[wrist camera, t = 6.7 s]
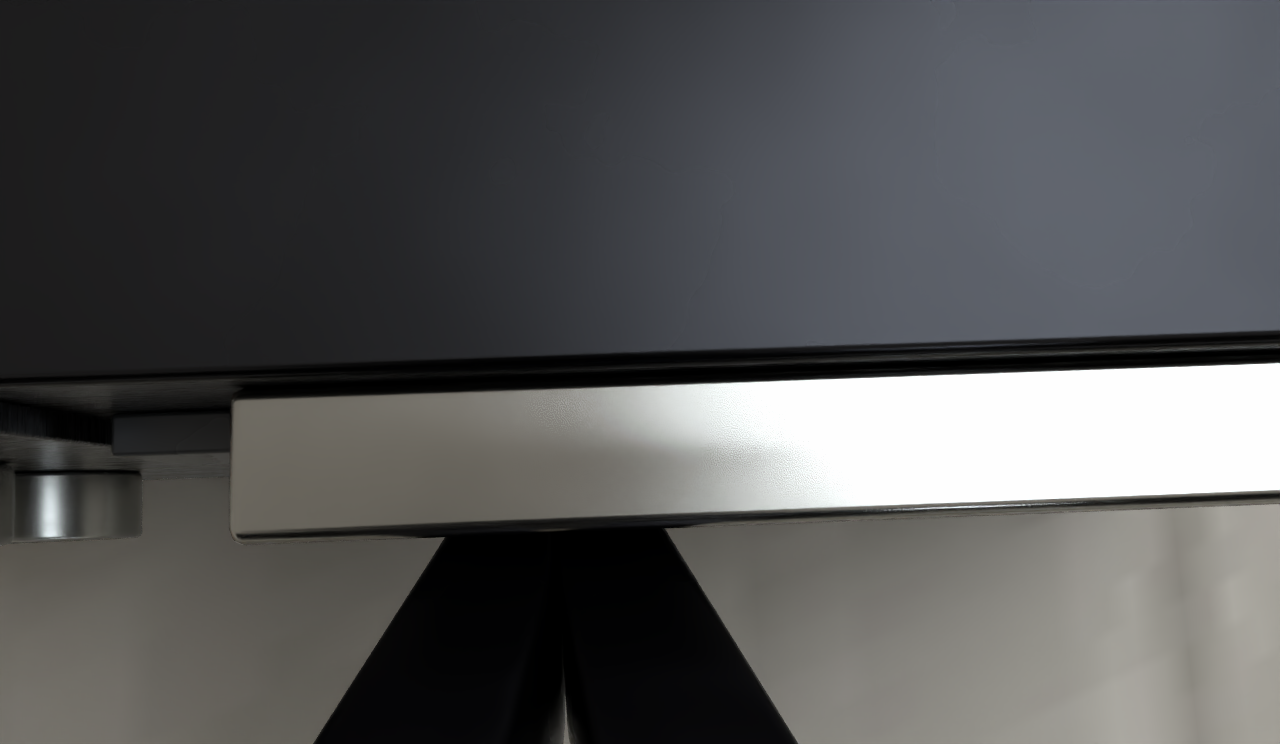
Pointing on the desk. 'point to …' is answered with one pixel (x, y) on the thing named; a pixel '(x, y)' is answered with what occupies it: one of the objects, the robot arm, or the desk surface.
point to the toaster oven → (635, 261)
